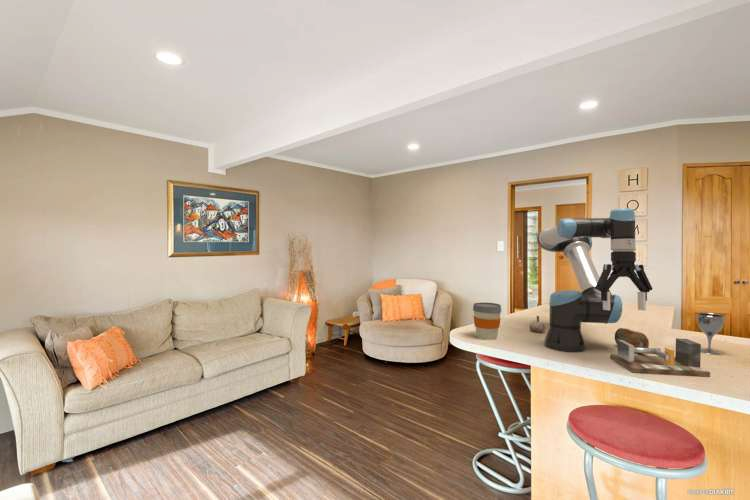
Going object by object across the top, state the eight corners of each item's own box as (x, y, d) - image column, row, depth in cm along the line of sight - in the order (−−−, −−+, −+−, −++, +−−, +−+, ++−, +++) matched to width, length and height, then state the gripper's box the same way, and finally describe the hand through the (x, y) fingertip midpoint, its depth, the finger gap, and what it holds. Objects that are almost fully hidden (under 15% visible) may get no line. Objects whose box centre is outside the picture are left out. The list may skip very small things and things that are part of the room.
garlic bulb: (544, 334, 176) (544, 317, 176) (527, 332, 180) (528, 315, 180) (546, 331, 182) (546, 315, 182) (530, 329, 186) (531, 313, 186)
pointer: (670, 364, 123) (670, 350, 123) (664, 361, 126) (664, 347, 126) (674, 365, 123) (674, 350, 123) (668, 362, 126) (668, 347, 126)
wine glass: (690, 349, 151) (691, 312, 151) (708, 348, 152) (709, 312, 152) (710, 355, 144) (710, 316, 143) (728, 354, 144) (729, 316, 144)
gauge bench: (632, 372, 124) (633, 344, 124) (610, 357, 140) (610, 333, 140) (709, 376, 120) (710, 348, 120) (678, 361, 136) (678, 335, 136)
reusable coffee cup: (471, 333, 177) (471, 302, 177) (498, 334, 176) (498, 302, 175) (474, 340, 165) (474, 306, 165) (503, 341, 163) (504, 307, 163)
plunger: (633, 364, 125) (633, 348, 125) (617, 354, 136) (617, 339, 136) (671, 366, 123) (671, 350, 123) (652, 356, 134) (652, 341, 134)
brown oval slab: (613, 345, 157) (614, 325, 157) (620, 345, 157) (621, 325, 157) (642, 356, 142) (643, 334, 142) (650, 356, 142) (650, 334, 142)
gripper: (597, 250, 129) (599, 311, 128) (663, 251, 131) (665, 311, 130) (583, 251, 137) (584, 308, 135) (646, 252, 139) (647, 309, 138)
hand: (624, 310), depth 133 cm, fingers open, 13 cm apart
